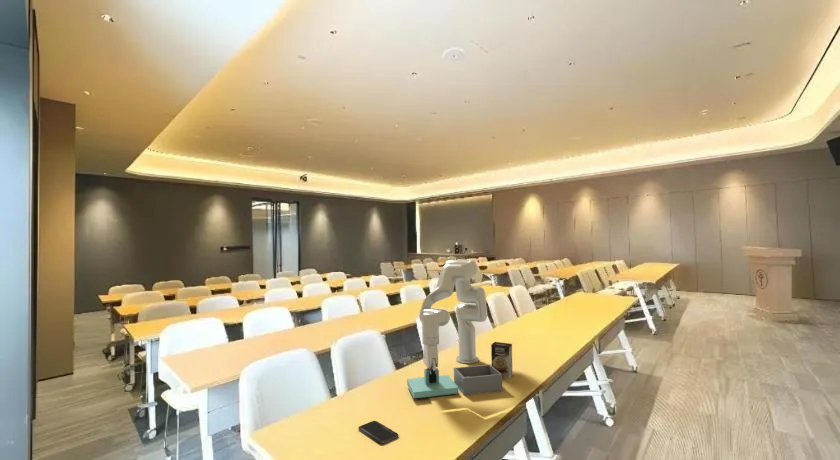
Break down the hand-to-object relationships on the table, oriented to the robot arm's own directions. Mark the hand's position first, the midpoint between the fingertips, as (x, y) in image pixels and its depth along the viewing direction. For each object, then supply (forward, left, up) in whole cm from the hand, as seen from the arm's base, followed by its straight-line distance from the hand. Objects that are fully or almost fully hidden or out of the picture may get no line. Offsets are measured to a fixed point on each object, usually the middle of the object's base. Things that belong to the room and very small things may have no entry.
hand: (431, 380), depth 168 cm
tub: (+2, +21, -5) cm, 22 cm away
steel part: (0, +17, -4) cm, 17 cm away
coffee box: (-9, +38, -5) cm, 39 cm away
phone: (+30, -27, -6) cm, 41 cm away
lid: (0, 0, -4) cm, 4 cm away
